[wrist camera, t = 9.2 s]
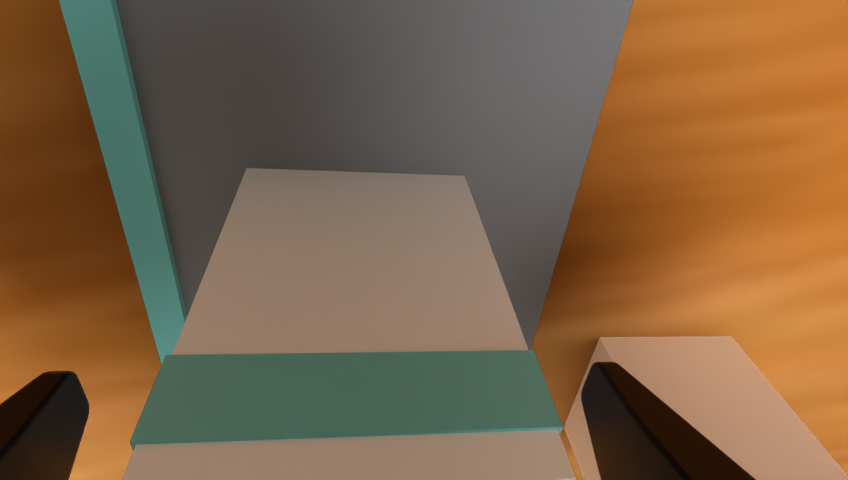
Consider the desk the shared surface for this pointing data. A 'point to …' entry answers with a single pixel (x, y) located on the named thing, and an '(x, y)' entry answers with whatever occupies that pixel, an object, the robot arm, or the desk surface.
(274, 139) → the plate
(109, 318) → the desk surface
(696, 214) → the desk surface
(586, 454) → the light grey boxy piece
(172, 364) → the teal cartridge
